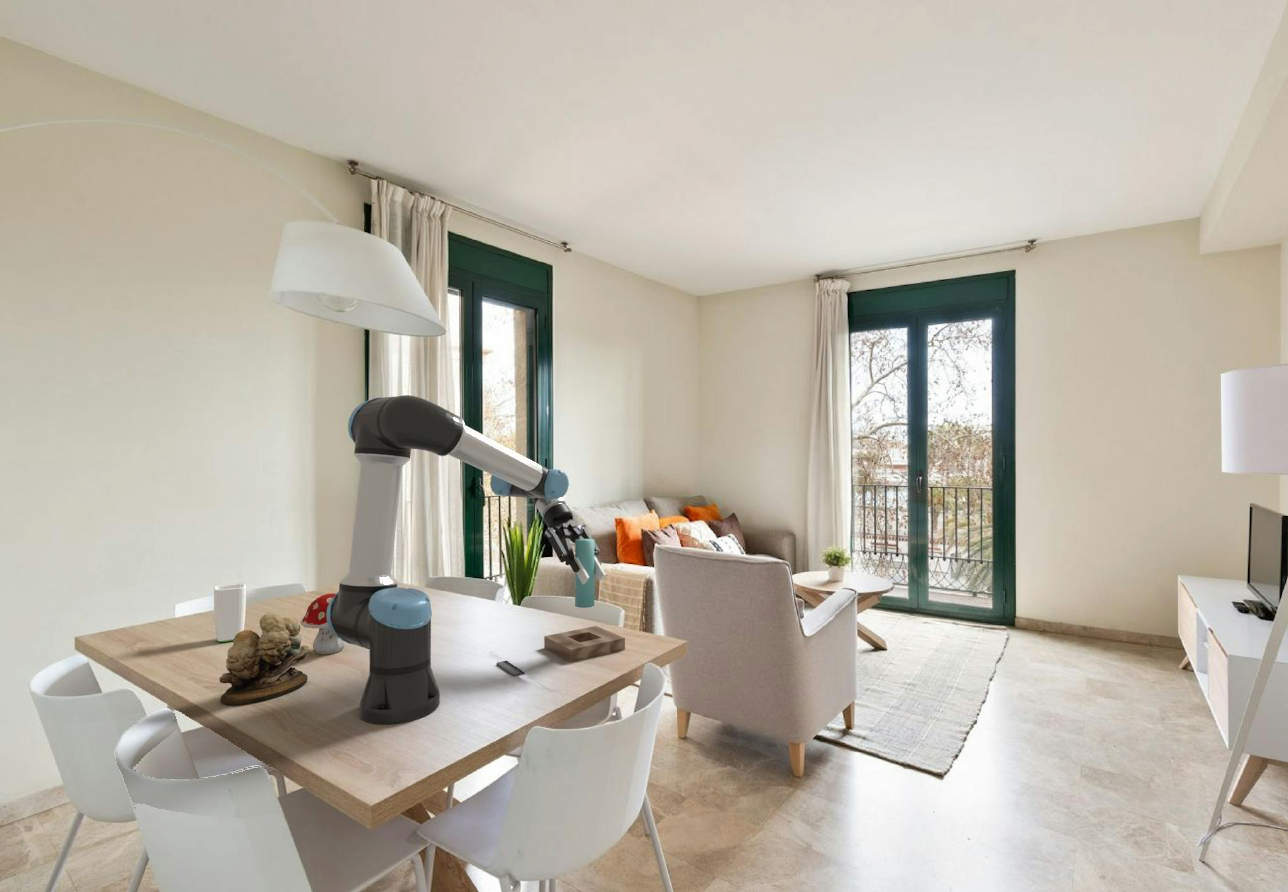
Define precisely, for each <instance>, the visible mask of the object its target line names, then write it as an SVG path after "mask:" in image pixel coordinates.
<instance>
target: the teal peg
mask: <svg viewBox="0 0 1288 892" xmlns="http://www.w3.org/2000/svg"><path fill="white" fill-rule="evenodd" d="M594 541H595V539H594V538H593V539H577V540H575V543H574V545H575V546H574V547H575V549H574V556H575V557H574V559H575V558H576V557H578V558H579V560H580V562H581V563H582V565H583V567H584V569H585V570H586V572H587V574H588V576H589V577H590V578H589V579H588V580H587V582H586V583H585V584H582V583H581V581H580V579H579V578H578V576H577V574H576V573H575V572H574V573H575V574H574V581H575V582H574V585H575V586H574V592H575V593H574V607H577V608H581V609H582V608H583V609H584V608H585V609H586V608H592V607H594V606H595V574H594Z"/></svg>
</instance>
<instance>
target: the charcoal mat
mask: <svg viewBox="0 0 1288 892" xmlns="http://www.w3.org/2000/svg"><path fill="white" fill-rule="evenodd" d="M496 666H498V668H501V669H502V670H503V671H505V672H506V673H508V674H510V675H511V676H513V677H516V676H521V675H525V674H527V673H526V672H525V671H523V670H522V669H520V668H518V667H517V666H515V665H514V664H512V663H511V662H510V661H508V660H503V661H497V662H496Z"/></svg>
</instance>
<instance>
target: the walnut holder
mask: <svg viewBox="0 0 1288 892" xmlns="http://www.w3.org/2000/svg"><path fill="white" fill-rule="evenodd" d="M543 639H544V642H543V645H544V649H546V650H547V651H549V652H551V653H553V654H555V655H557V656H559V657H560V658H562V659H564V660H566V661H568V662H570V663H573V662H578V661H583V660H587V659H591V658H595V657H600V656H604V655H608V654H613V653H617V652H621V651H624V650H626V638H625V637H624V636H623V635H622V636H621V635H619V634H616V633H614V632H612V631H609V630H608V629H605V628H602V627H600V626H598V625H594V626H589V627H585V628H584V627H583V628H579V629H574V630H569V631H564V632H558V633H555V634H549V635H544V637H543Z"/></svg>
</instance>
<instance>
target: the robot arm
mask: <svg viewBox="0 0 1288 892" xmlns="http://www.w3.org/2000/svg"><path fill="white" fill-rule="evenodd" d="M347 430H348V435H349V437H350V439H351V440H352V442H353V444H354V453H353V456H354V457H355V458H356V459H357V460H358V461H359V464H360V465H359V467H360V468H359V477H358V485H357V494H356V495H357V496H356V503H355V505H356V506H355V512H354V522H353V531H352V541H351V550H350V557H349V559H350V560H349V567H348V573H347V574H346V575H345V576H344V577H343V578H341V579H340V581H339V586H338V587H339V588H338V591H337V592H336V595H335V596H334V597H333V598H332V599H331V601H330V603H329V605H328V608H327V623H328V626H329V628H330V630H331V631H332V632H333V634H334V635H336V636H337V637H338V638H340V639H342V640H343V641H345V642H346V643H347V644H351V645H355V646H359V647H361V648H364V649H366V650H368V651H369V652H368V653H369V654H368V655H369V659H368V660H369V668H368V669H369V674H368V677H367V680H366V683H365V687H364V690H363V693H362V695H361V698H360V702H359V717H360V718H361V719H362V720H363V721H366V722H368V723H372V724H380V725H381V724H382V725H384V724H385V725H386V724H387V725H388V724H397V723H398V724H399V723H404V722H409V721H414V720H417V719H420V718H423V717H425V716H427V715H430V714H431V713H433V712H434V711H435V710H437V708H439V706H440V704H441V703H440V702H441V700H440V697H441V695H440V689H439V686H438V684H437V683H438V682H437V680H436V678H435V675H434V674H435V673H434V672H433V669H432V662H431V661H432V657H431V656H432V650H431V649H432V648H431V647H432V615H433V613H432V607H431V606H432V605H431V599H430V597H429V595H428V594H427V593H426V592H424V591H422V590H419V589H417V588H410V587H409V588H407V587H406V588H405V587H398V581H397V579H396V578H395V577H394V576H393V574H392V568H393V560H394V559H393V558H394V547H395V539H396V531H397V530H396V529H397V519H398V509H399V501H400V491H401V482H402V481H401V480H402V474H403V473H402V471H403V467H404V465H406V464H407V463H409V462H410V461H411V456H412V455H411V454H412V450H421V451H426V452H430V453H433V454H435V455H438V456H440V457H447V456H448V455H449V456H450V457H452V458H454V459H457V460H459V461H461V462H464V463H465V464H468V465H470V466H472V467H474V468H475V469H478V470H481V471H483V472H485V473H487V474H489V475H491V476H490V482H489V484H490V490H491V491H492V493H494V494H495V495H497V496H501V497H509V498H510V497H512V498H524V499H532V502H533V503H534V505H535V507H536V508H537V510H538V511H539V513H540V516H541V517H542V519H543V521H544V523H545V524H546V526H547V529H546V530H545V532H544V533H543V536H544V537H545V538H546V539H547V540H548V541H549V543H550V545H551V547H552V549H553V551H554V553H555V555H556V556H557V558H558V560H559V562H560V563H564V562H565V563H564V564H565V566H568V567H569V566H570V568H571V570H572V572H573V573H576V574H577V576H578V578H579V579H580V581H581V583H582V584H585V583H586V582H587V580H588V579H589V578H590V577H589V576H588V574H587V572H586V570H585V569H584V567H583V565H582V563H581V562H580V560H579V558H578V557H576V558H575V552H574V549H573V547H572V544H571V543H573V544H575V540H577V539H594V538H593V536H592V534H590V531H589V529H588V525H587V524H586V523H583V524H582V525H578V523H577V522H576V521H574V516H573V515H574V514H573V513H572V510H571V509H570V508H569V506H568V504H567V503H566V501H565V499H564V496H565V495H567V492H568V489H569V485H570V482H569V478H568V475H567V473H566V472H565V471H564V470H560V469H556V468H551V469H550V468H548V467H546V466H543V465H542V464H539V463H537V462H535V461H534V460H532V459H531V458H528V457H526V456H525V455H522V454H521V453H519V452H517V451H515V450H513V449H511V448H509V447H507V446H505V445H504V444H502V443H500V442H497V441H496V440H494V439H492V438H491V437H489V436H487V435H485V434H483V433H481V432H479V431H477V430H475V429H473V428H471V427H469V426H468V425H466V424H465V421H464V419H463V418H462V417H461V416H458V415H457V414H455V413H453V412H451V411H449V409H445V408H444V407H443V406H440V405H438V404H436V403H434V402H431V401H429V400H428V399H425V398H422V397H419V396H415V395H409V394H408V395H407V394H406V395H405V394H403V395H396V396H386V397H380V396H379V397H374V398H371V399H367V400H366V401H363V402H362V403H359V405H357V406H356V407H355V408H354V409H353V410H352V412H351V414H350V416H349V419H348V423H347ZM600 552H601V549H600V548H599V546H598V544H597V542H596V540H594V576H595V577H596V579H597V580H598V582H601V581H603V579H604V578H605V576H606V575H607V573H606V572H605V570H604V568H603V566H602V563H601V562H600V559H599V558H598V555H599V554H600Z"/></svg>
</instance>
